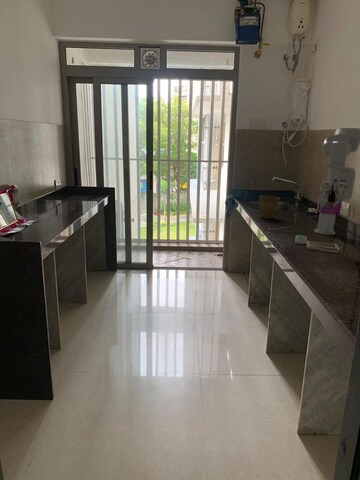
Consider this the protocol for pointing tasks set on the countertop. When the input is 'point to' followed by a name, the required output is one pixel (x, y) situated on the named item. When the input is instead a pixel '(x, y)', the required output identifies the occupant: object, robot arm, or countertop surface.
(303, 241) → the button housing
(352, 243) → the countertop surface
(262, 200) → the plant pot
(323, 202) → the candy bar box
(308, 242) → the tray
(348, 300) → the countertop surface
